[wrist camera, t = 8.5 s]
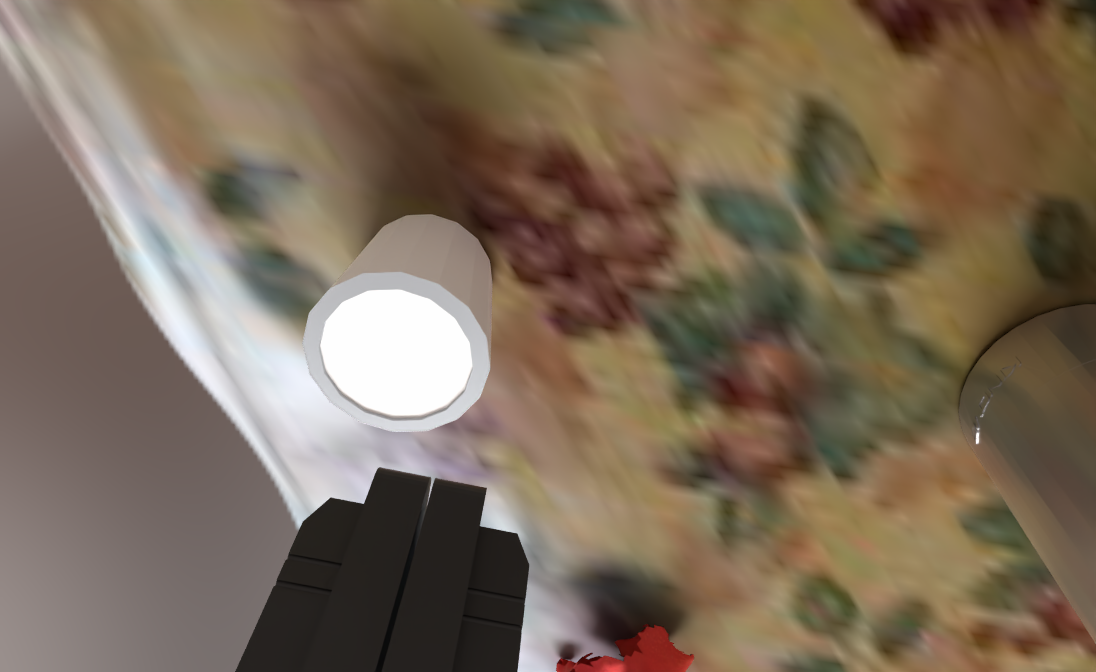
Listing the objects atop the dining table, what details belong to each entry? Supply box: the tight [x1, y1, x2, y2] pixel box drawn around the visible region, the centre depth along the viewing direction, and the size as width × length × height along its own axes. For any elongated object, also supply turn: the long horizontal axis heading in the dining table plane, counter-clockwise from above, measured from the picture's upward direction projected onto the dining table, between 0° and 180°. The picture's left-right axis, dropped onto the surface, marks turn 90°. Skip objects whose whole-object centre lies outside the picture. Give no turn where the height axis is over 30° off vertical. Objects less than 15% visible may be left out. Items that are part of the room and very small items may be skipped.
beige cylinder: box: [302, 214, 492, 432], centre depth 34 cm, size 7×7×7 cm
